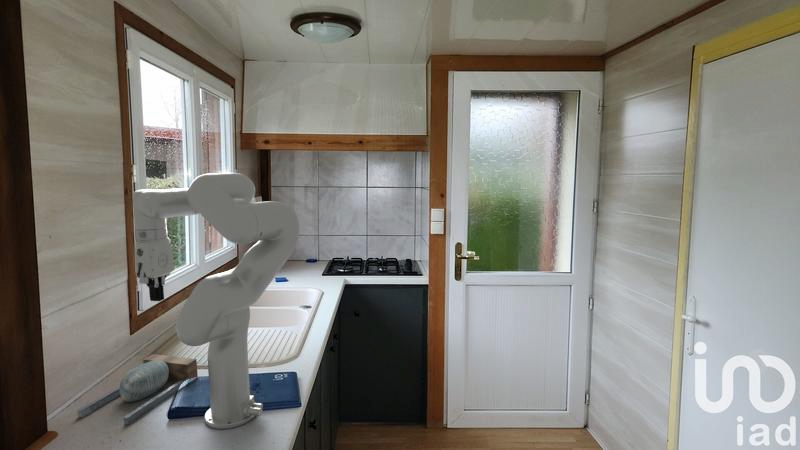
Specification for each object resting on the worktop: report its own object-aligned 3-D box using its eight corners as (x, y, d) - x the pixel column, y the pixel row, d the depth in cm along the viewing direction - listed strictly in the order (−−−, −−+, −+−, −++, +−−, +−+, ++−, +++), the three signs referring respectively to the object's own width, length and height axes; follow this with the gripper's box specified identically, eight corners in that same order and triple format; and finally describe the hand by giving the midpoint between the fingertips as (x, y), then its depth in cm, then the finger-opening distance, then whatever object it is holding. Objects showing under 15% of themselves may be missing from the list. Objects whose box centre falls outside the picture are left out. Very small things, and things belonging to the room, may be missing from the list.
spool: (151, 367, 138) (153, 345, 133) (175, 385, 137) (178, 363, 132) (109, 398, 127) (110, 375, 122) (135, 418, 125) (137, 395, 120)
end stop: (197, 377, 139) (196, 359, 138) (188, 384, 135) (187, 364, 134) (154, 372, 142) (153, 354, 142) (144, 378, 139) (143, 359, 138)
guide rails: (188, 384, 135) (188, 377, 135) (128, 425, 114) (127, 418, 113) (144, 378, 139) (144, 372, 138) (78, 417, 117) (77, 410, 117)
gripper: (144, 239, 117) (150, 309, 119) (181, 231, 131) (186, 293, 134) (118, 239, 118) (124, 308, 121) (158, 230, 133) (163, 292, 135)
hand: (157, 300), depth 127 cm, fingers closed
